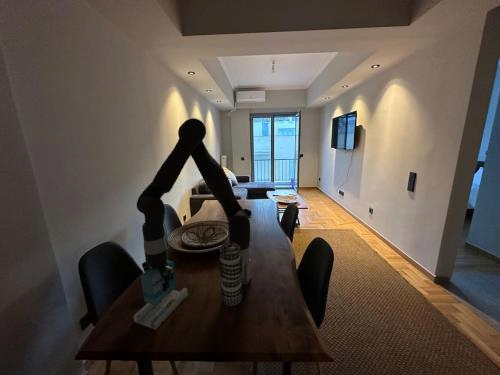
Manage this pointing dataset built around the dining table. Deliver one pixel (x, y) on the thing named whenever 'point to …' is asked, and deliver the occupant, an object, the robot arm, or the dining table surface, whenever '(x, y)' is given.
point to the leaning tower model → (231, 273)
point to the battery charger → (247, 212)
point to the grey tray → (160, 309)
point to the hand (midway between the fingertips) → (160, 288)
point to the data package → (156, 285)
